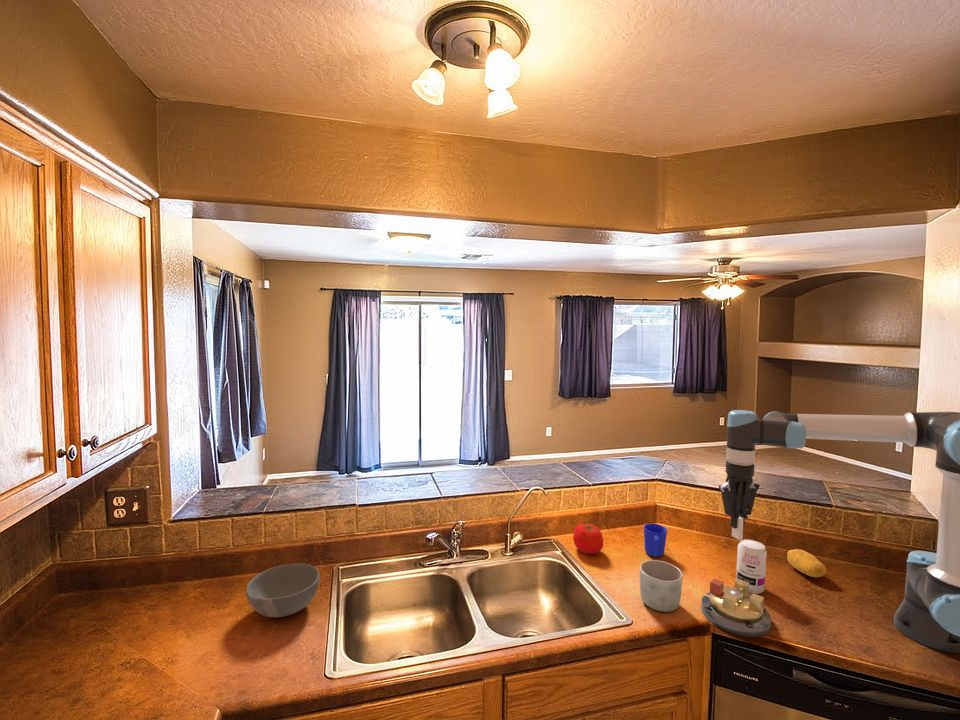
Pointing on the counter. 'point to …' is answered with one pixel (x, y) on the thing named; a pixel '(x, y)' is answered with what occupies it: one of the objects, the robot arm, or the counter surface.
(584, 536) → the tomato
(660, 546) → the mug
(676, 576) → the planter
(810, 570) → the potato
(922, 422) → the robot arm
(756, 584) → the supplement can
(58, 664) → the counter surface
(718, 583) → the brass disc with cubes
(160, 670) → the counter surface
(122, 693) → the counter surface
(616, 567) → the counter surface
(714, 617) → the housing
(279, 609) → the bowl
